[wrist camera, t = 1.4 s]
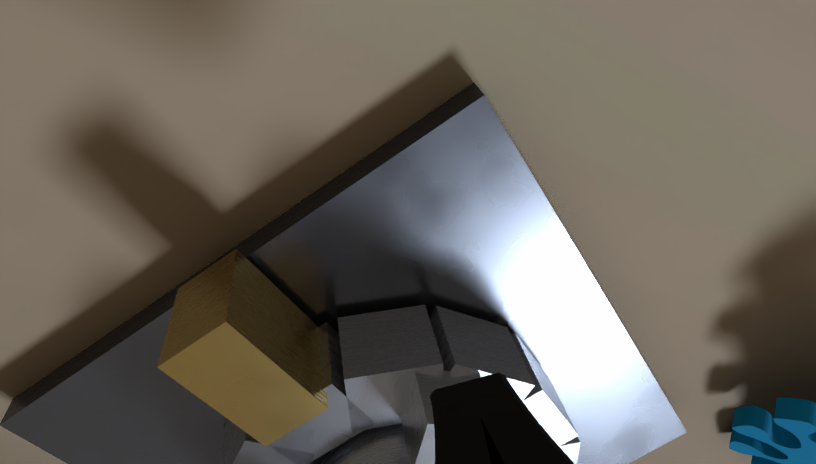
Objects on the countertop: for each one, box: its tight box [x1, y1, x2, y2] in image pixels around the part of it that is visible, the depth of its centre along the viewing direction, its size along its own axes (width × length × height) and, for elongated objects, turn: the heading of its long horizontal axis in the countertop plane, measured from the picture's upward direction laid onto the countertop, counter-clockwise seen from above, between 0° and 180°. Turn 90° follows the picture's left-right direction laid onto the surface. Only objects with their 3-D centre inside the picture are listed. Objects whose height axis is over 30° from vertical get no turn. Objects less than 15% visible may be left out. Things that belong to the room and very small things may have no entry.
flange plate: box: [0, 83, 687, 464], centre depth 21 cm, size 17×17×1 cm
